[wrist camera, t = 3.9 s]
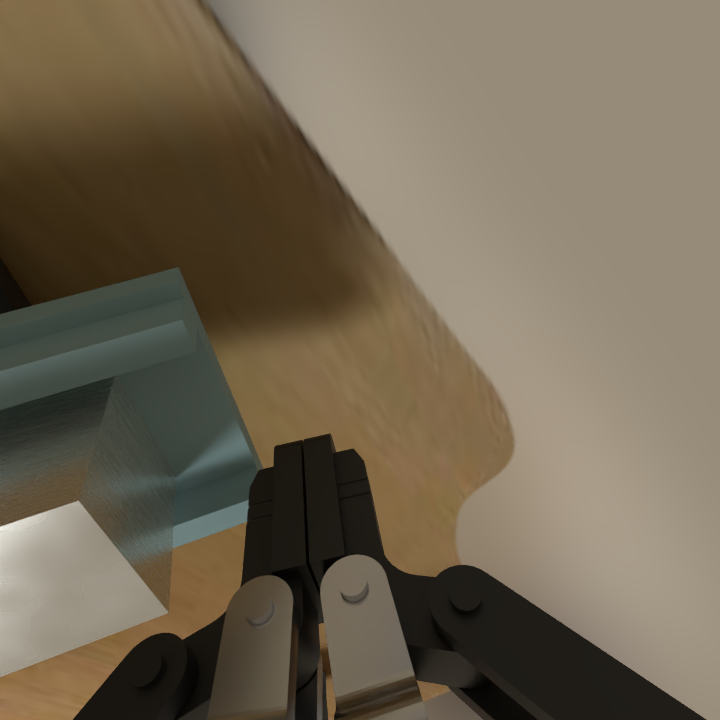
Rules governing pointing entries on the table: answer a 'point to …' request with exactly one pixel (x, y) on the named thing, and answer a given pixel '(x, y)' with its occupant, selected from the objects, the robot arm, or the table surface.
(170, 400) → the seesaw beam
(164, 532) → the steel slider
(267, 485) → the robot arm
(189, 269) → the table surface
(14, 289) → the beam stand
